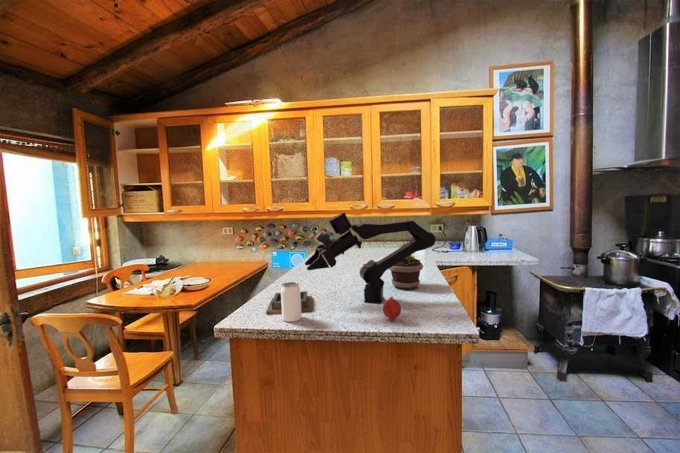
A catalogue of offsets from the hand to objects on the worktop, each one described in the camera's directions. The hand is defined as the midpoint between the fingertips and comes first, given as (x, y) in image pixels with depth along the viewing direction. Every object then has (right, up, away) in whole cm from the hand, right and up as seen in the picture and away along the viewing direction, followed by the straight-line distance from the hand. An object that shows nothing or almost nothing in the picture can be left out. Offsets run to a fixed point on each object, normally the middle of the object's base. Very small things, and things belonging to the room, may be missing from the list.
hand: (306, 266), depth 122 cm
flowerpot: (+41, -12, +23) cm, 49 cm away
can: (-4, -17, -10) cm, 20 cm away
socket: (-6, -15, +4) cm, 17 cm away
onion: (+29, -16, -15) cm, 36 cm away
